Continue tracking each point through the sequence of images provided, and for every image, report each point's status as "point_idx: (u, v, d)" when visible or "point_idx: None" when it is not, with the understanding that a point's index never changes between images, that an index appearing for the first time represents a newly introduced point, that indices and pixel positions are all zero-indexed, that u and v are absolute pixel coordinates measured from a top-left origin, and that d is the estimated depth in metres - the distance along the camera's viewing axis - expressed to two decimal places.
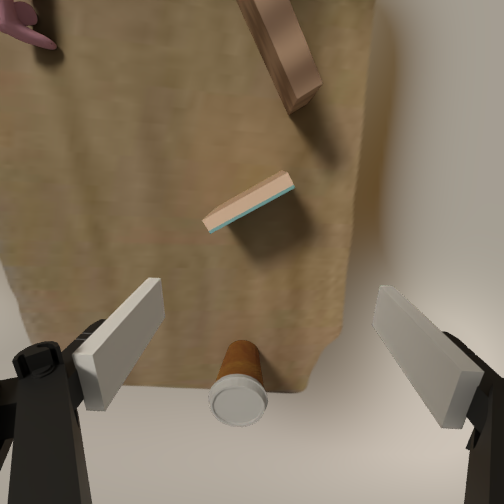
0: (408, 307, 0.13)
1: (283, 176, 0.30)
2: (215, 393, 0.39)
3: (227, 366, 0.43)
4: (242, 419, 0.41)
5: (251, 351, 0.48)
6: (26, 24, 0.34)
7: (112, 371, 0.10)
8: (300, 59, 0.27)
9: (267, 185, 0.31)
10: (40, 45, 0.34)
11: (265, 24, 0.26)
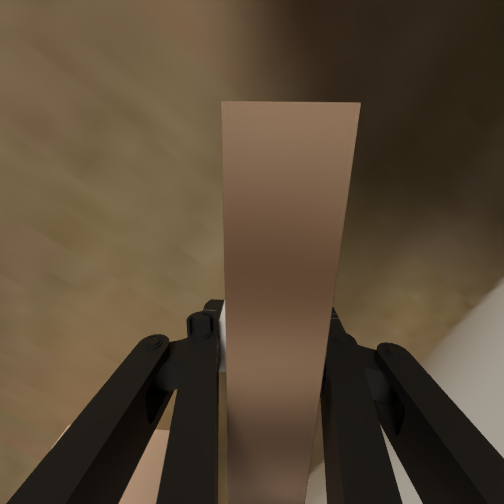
0: None
1: None
2: None
3: None
4: None
5: None
6: None
7: None
8: None
9: None
10: None
11: (229, 438, 0.09)
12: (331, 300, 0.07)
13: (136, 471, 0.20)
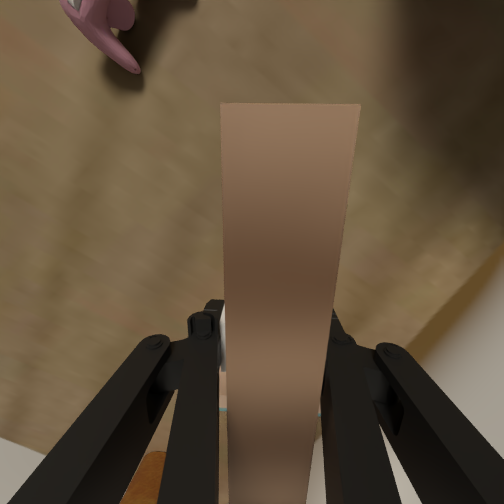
0: None
1: None
2: None
3: None
4: None
5: None
6: (113, 26, 0.22)
7: None
8: None
9: None
10: (118, 63, 0.23)
11: (229, 441, 0.09)
12: (331, 303, 0.07)
13: None
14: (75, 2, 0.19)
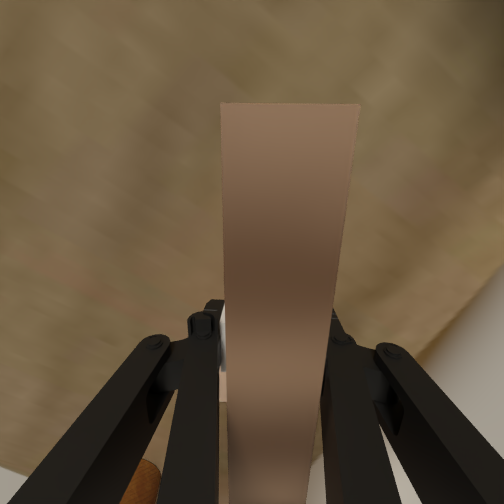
0: None
1: None
2: None
3: None
4: None
5: (150, 491, 0.31)
6: None
7: None
8: None
9: None
10: None
11: (230, 441, 0.09)
12: (331, 302, 0.07)
13: None
14: None
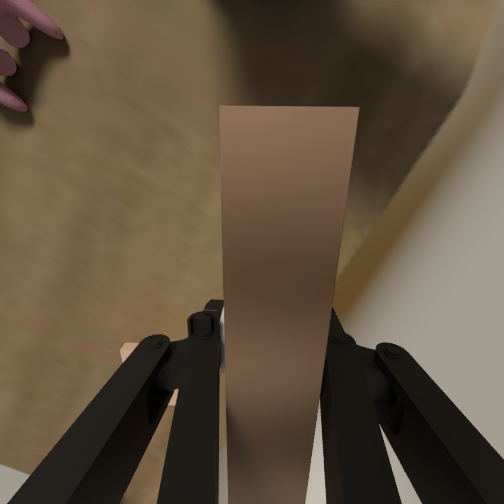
0: None
1: None
2: None
3: None
4: None
5: None
6: None
7: None
8: None
9: None
10: (3, 104, 0.26)
11: (229, 442, 0.09)
12: (330, 304, 0.07)
13: None
14: None
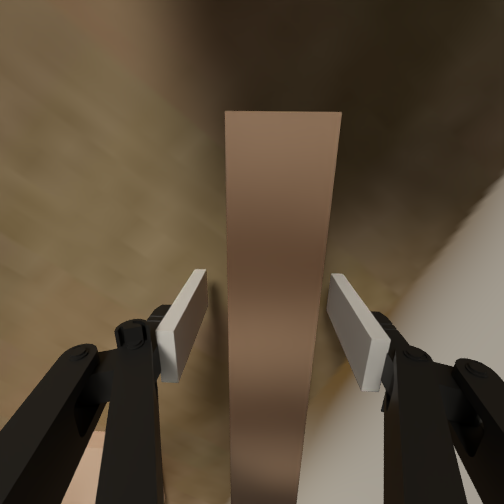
0: (348, 291, 0.14)
1: None
2: None
3: None
4: None
5: None
6: None
7: (182, 348, 0.12)
8: (271, 487, 0.11)
9: None
10: None
11: (231, 411, 0.10)
12: (320, 282, 0.08)
13: None
14: None
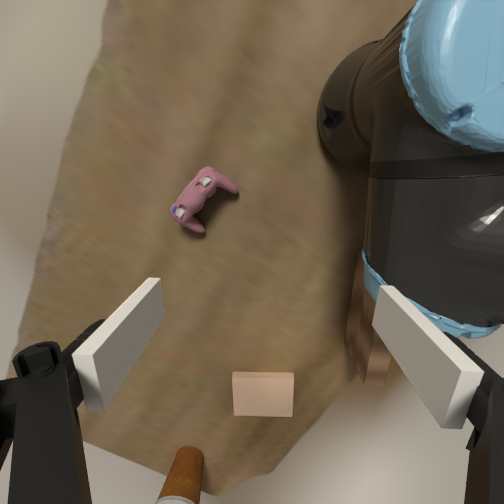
0: (408, 307, 0.13)
1: None
2: None
3: (179, 481, 0.52)
4: None
5: (200, 464, 0.57)
6: None
7: (112, 371, 0.10)
8: (380, 369, 0.38)
9: None
10: (194, 230, 0.40)
11: (372, 343, 0.36)
12: None
13: (272, 391, 0.51)
14: (180, 217, 0.36)
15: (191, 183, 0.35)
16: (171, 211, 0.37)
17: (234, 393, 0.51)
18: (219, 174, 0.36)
